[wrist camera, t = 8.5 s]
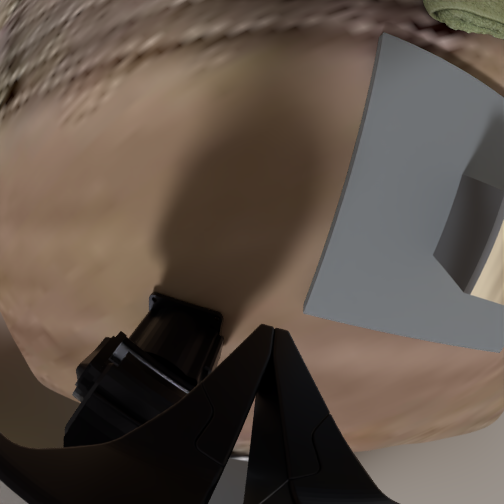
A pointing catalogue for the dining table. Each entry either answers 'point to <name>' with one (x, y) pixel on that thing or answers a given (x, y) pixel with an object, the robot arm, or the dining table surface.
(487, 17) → the washcloth
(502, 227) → the maple block
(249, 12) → the dining table surface
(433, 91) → the rubber pad
